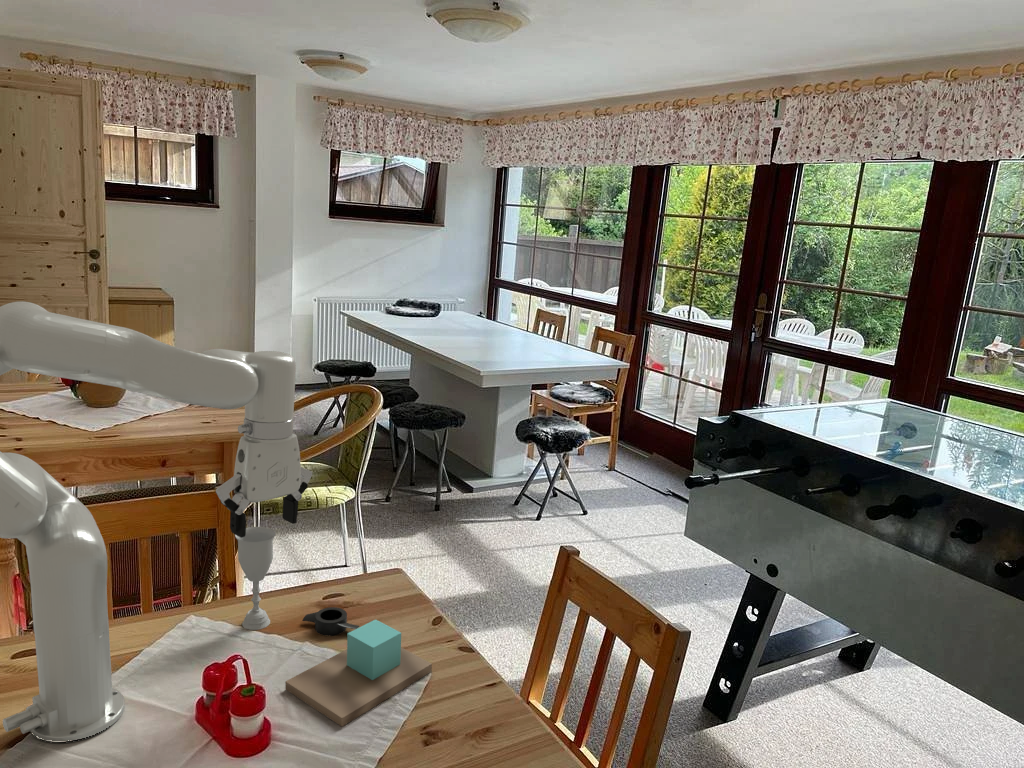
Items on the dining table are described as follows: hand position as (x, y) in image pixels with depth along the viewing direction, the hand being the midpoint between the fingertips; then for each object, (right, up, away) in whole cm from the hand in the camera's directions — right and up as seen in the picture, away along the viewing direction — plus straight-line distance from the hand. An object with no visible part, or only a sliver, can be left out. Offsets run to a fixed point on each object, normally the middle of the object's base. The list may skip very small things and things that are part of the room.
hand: (264, 527), depth 129 cm
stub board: (+15, -26, +3) cm, 31 cm away
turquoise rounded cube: (+17, -24, +5) cm, 30 cm away
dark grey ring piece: (+7, -23, +18) cm, 30 cm away
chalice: (-7, -22, +18) cm, 29 cm away
